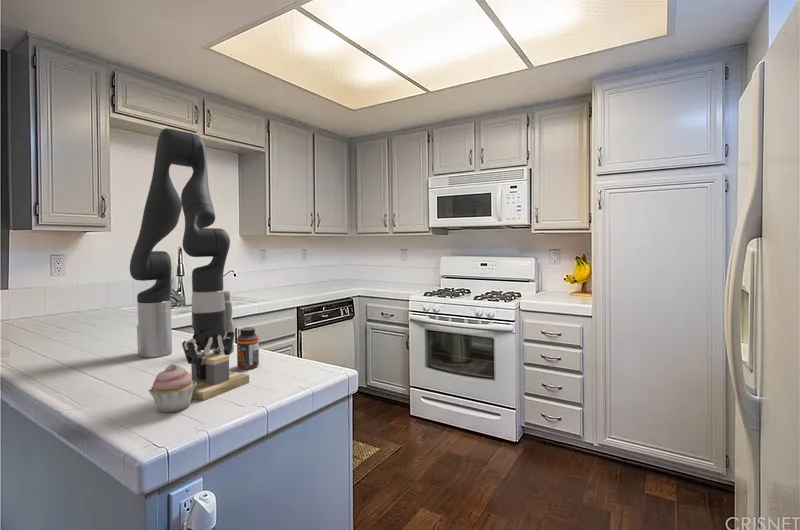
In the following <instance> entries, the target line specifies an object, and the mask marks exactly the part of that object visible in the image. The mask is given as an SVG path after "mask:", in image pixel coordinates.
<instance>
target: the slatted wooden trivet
mask: <svg viewBox="0 0 800 530" xmlns="http://www.w3.org/2000/svg"><path fill="white" fill-rule="evenodd" d="M189 373H190V375H191V377H192V372H189ZM192 381H193V382H197V383H196V385H195V387H194V390H193V393H192V397H191V399H194V400H199V401H203V402H204V401H206V400H208V399H211V398H214V397H216V396H219V395H221V394H224V393H226V392H229V391H231V390H233V389H236V388H239V387H241V386H243V385H246V384H249V383H250V374H246V373H241V372H237V371H236V372H235V371H231V370H229V379H228V380H226V381H223V382H220V383H218V384H215V385H214V384H209V383H204V382H199V381H194V380H192Z"/></svg>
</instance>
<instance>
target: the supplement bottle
mask: <svg viewBox="0 0 800 530" xmlns="http://www.w3.org/2000/svg"><path fill="white" fill-rule="evenodd" d="M239 331H240V334H239V336H238V337H236V338H237V339H236V352H237V354H236V356H237V358H236V360H237V361H236V362H237V363H236V365H237V368H238V369H241V370H249V369H250V370H251V369H254V368H255V369H256V368H257V367H258V366H259V364H260V361H259V360H260V359H259V358H260V357H259V355H260V354H259V353H260V351H259V348H260V347H259V346H260V345H259V344H260V343H259V341H260V340H259V335H257V334H256V328H255V327H252V326H251V327H250V326H247V327H242V328H240V329H239Z"/></svg>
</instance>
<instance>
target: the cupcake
mask: <svg viewBox="0 0 800 530" xmlns="http://www.w3.org/2000/svg"><path fill="white" fill-rule="evenodd" d="M190 373H191V372H189V371H186V369H185V368H184V367H183V366H182V365H179V364H177V363H176V364H175V363H171V364H169V365H168V366H167V367H165V369H164V371H163V370H162V371H160V372H159V373H158V374H157V375H156V377H155V379H154V381H153V384H152V386H151V389H148V390H147V391H148V392H149V393H150V395H151V396H152V398H153V400H154V403H155V406H156V409H157V411H158V412H160V413H167V414H168V413H176V412H180V411H183V410H185V409H187V408H188V407H189V406H190V405H191V401H192V398H191V397H192V393H193V390H194V387H195V385H196V383H197V382H193V381H192V377H191V375H190Z"/></svg>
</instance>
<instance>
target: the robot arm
mask: <svg viewBox="0 0 800 530" xmlns="http://www.w3.org/2000/svg"><path fill="white" fill-rule="evenodd" d="M207 161H208V160H207V151H206V145H205V143H204V140H203V138H202V137H201V135H198V134H196V133H193V132H187V131H183V130H178V129H173V128H167V127H166V128H163V129H162V130H161V131H160V133H159V135H158V138H157V143H156V149H155V156H154V164H153V170H152V177H151V182H150V185H149V189H148V194H147V197H146V200H145V206H144V208H143V209H144V210H143V213H142V218H141V219H142V220H141V224H140V230H139V233H138V238H137V240H136V243H135V246H134V247H133V248H134V249H133V251H132V254H131V258H130V262H129V274H130V277H132V279H133V280H135V281H138V282H139V281H142V282H143V281H144V282H145V281H155V283H154V284H153V285H152V286H150V287H149V288H146V289H144V290H142V291H140V292H139V293H137V295H136V296H137V297H136V301H137V323H138V324H137V325H136V335H137V340H136V341H137V355H139V357H141V358H158V357H163V356H167V355H170V354H172V352H173V337H172V336H173V334H172V333H173V332H172V330H173V329H172V308H171V307H172V302H171V293H172V259H171V257H170V254H169V253H168V252H167V251H164V250H163V251H162V250H155V251H154V248H155V247H156V246H157V244H159V243H160V242H161V241H162V240H164V239H165V238H166V237H167V236H169V234H170V233H172V231H174V229H175V228H176V227H177V226H178V224H179V220H180V215H181V211H183V215H184V230H183V237H182V248H183V251H184V253H185V254H187V256H189V257H193V258H210V257H212V259H211V261H210V262H209V263H208V264H205V265H202V266H198V267H195V268H193V269H192V271H191V289H192V290H191V291H192V292H191V293H192V294H191V323H192V325H191V326H192V330H193V335H192V337H191V339H189V340H187V341H186V340H185V341H182V343H181V345H182V349H183V352H184V355H185V359H186V361H187V363H188V364H189V365H191V364H194V365H196V377H197V378H198V379H199V380H202V381H203V380H206V365H205V362H206V358H207V356H208V355H209V353H210V351H212V353H214V354H222V355H228V356H230V355H231V353H232V352H231V349H232V344H233V345H234V337H235V332H234V331H233V332H229V331H225V330H224V326H225V298H224V269H225V265H226V261H227V257H228V254H229V250H230V246H231V240H230V239H231V238H230V235H229V234H228V232H227V231H226V230H225V229H224V228H217V227H216V228H211V227H210V226H212V225H213V224H214V223H215V221H216V214H215V209H214V205H213V202H212V198H211V194H210V187H209V177H208V176H209V175H208V174H209V173H208V162H207ZM171 165H174V166H175V165H176V166H181V167H188V168H191V169H192V173H191V177H190V178H189V179H188V181H187V183H185V185H184V187H183V188H182V191H181V194H180V195H179V193H178V192H177V190H176V188H175V186H174V184H173V182H172V179H171V176H170V167H171ZM208 227H210V228H208ZM222 339H223V341H222ZM226 346H227V349H226ZM200 358H201V360H200Z"/></svg>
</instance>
